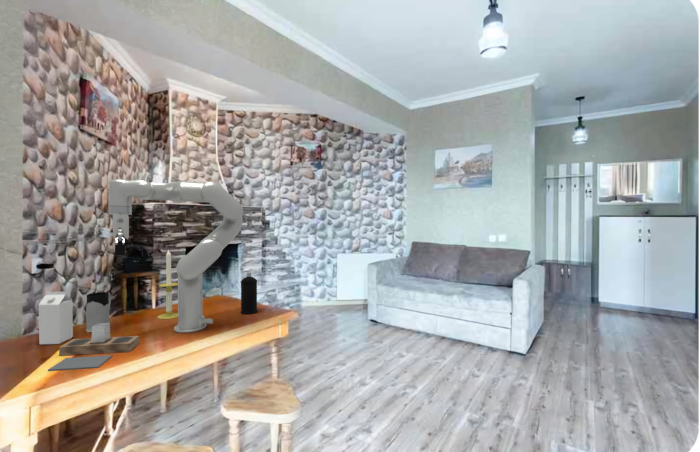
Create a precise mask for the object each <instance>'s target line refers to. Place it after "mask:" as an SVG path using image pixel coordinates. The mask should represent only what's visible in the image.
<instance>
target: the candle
mask: <svg viewBox="0 0 700 452" xmlns="http://www.w3.org/2000/svg"><path fill="white" fill-rule="evenodd" d="M165 259H166V260H165V265H166V268H165V269H166V270H165V274H166V275H165V277H166V278H165V280H166V281H165V283H164V282H163V283H160V284H158V287H161V288H165V313H163V314H159V315H158V316H157V319H159V320H171V319H176V318H178V312H173V287H178V282H172V254H171V252H170V249H169V248H168V249H167V253H166V254H165Z"/></svg>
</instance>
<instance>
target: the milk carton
mask: <svg viewBox="0 0 700 452" xmlns="http://www.w3.org/2000/svg"><path fill="white" fill-rule="evenodd" d="M73 320H74V319H73V299H72V298H71V297H70V296H69V295H68V294H67V291H45V295H44V297H43V298H42V299H41V301H40V302H39V304H38V332H39V333H38V336H39V337H38V338H39V339H38V341H39V342H38V343H39V345H60V344H62V343H64V342H66V341H69V340H70V339H73V338H72V337H74V333H73V332H74V331H73V330H74V329H73V327H74V325H73V323H74V321H73Z"/></svg>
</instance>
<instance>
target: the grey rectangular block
mask: <svg viewBox="0 0 700 452" xmlns="http://www.w3.org/2000/svg"><path fill="white" fill-rule="evenodd" d="M110 327H111V322H109V323H97V324H96V325H94V326H92V333H91V338H92V344H103V343H107V342H108V341H109V340H110V337H111V328H110Z"/></svg>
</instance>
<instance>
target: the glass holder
mask: <svg viewBox="0 0 700 452" xmlns="http://www.w3.org/2000/svg"><path fill="white" fill-rule="evenodd" d="M111 296H112V295H111V293H110V292H107V291H98V292H91V293H88V294H86V307H85V309H86V311H85V312H86V317H85V319H86V328H85V330H86V331H87V332H86V333H89V332H92V326H94V325H96V324H97V323H110V307H111V301H112V298H111Z"/></svg>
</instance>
